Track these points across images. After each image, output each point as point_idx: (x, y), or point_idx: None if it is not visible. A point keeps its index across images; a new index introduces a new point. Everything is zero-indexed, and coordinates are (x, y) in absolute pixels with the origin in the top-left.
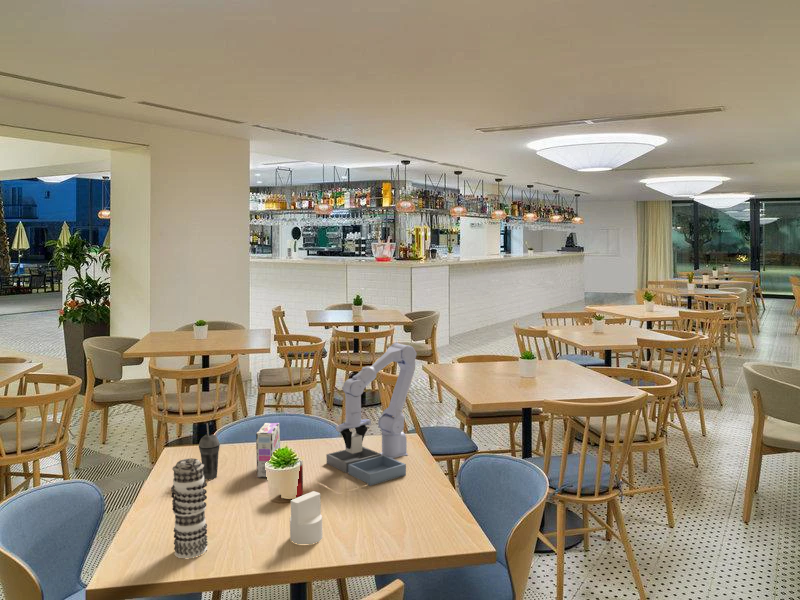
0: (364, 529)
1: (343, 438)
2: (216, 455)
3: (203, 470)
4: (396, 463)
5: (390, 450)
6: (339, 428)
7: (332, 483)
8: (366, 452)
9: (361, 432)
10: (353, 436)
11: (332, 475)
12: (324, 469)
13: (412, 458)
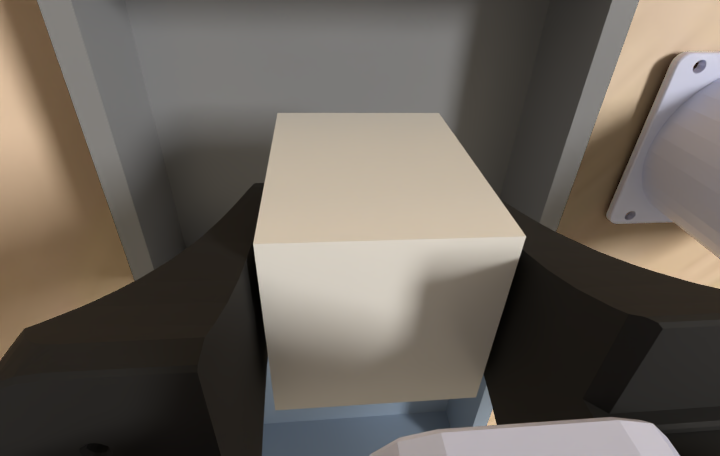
0: None
1: (184, 253)
2: None
3: None
4: (467, 418)
5: (688, 233)
6: None
7: (16, 326)
8: (555, 99)
9: (504, 424)
10: (339, 372)
11: (57, 219)
12: (17, 47)
13: (713, 269)
